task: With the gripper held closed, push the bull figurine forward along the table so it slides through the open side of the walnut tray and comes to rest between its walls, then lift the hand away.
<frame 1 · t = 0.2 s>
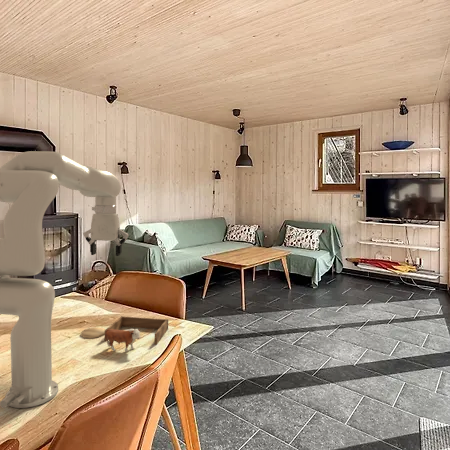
hand: (105, 254, 139), 31 cm above the table, tool pointing down, fingers open, 9 cm apart
oak coaster: (93, 333, 140), on the table
bull figurine: (123, 350, 127), on the table
walnut tray: (137, 334, 140), on the table
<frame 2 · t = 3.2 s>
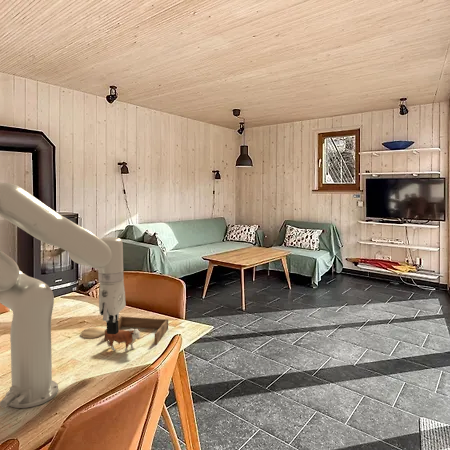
hand: (112, 333, 115), 10 cm above the table, tool pointing down, fingers closed
nothing on the table moved.
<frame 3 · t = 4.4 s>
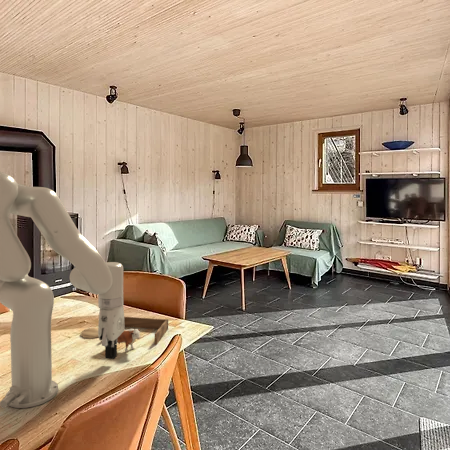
hand: (111, 357, 116), 2 cm above the table, tool pointing down, fingers closed
nothing on the table moved.
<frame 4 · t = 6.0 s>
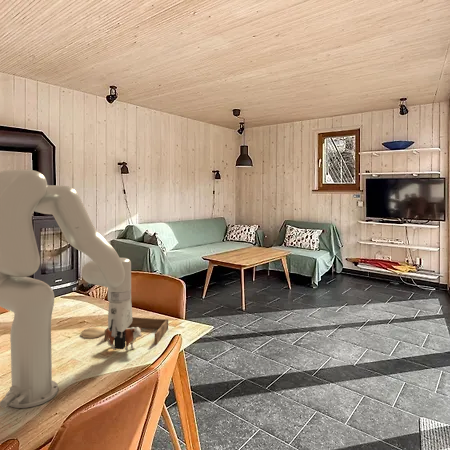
hand: (120, 347, 123), 2 cm above the table, tool pointing down, fingers closed
bull figurine: (123, 349, 127), on the table, touching gripper
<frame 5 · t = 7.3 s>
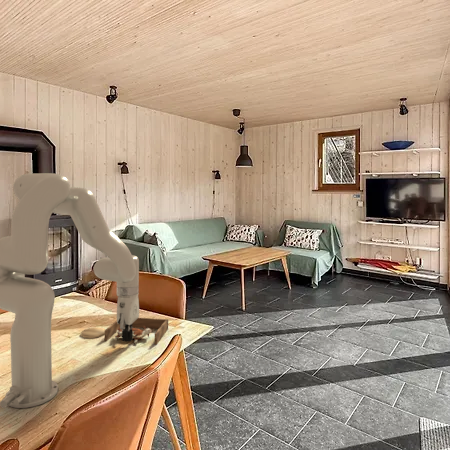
hand: (127, 340, 130), 2 cm above the table, tool pointing down, fingers closed
bull figurine: (128, 338, 131), point 2 cm above the table, touching gripper
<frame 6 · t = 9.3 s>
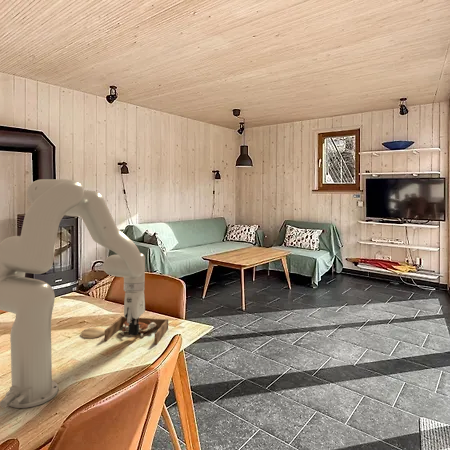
hand: (133, 334, 136), 2 cm above the table, tool pointing down, fingers closed
bull figurine: (134, 332, 138), point 2 cm above the table, touching gripper
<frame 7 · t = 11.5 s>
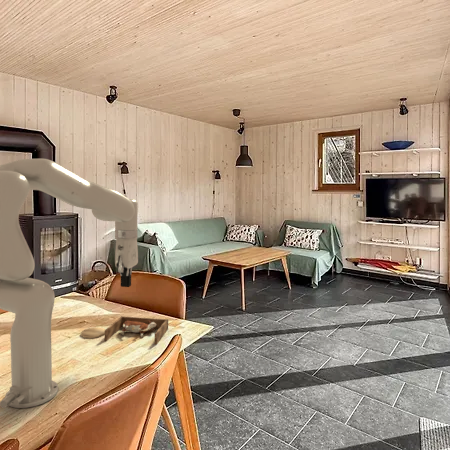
hand: (125, 286, 127), 22 cm above the table, tool pointing down, fingers closed
bull figurine: (134, 332, 138), point 2 cm above the table
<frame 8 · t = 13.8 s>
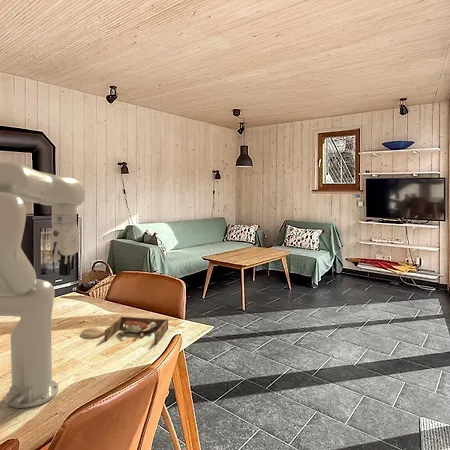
hand: (65, 274, 120), 27 cm above the table, tool pointing down, fingers closed
nothing on the table moved.
at the end: bull figurine inside the target area (2.8 cm from its centre), point 2.0 cm above the table; bull figurine moved 11.4 cm from its start; the gripper is holding nothing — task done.
